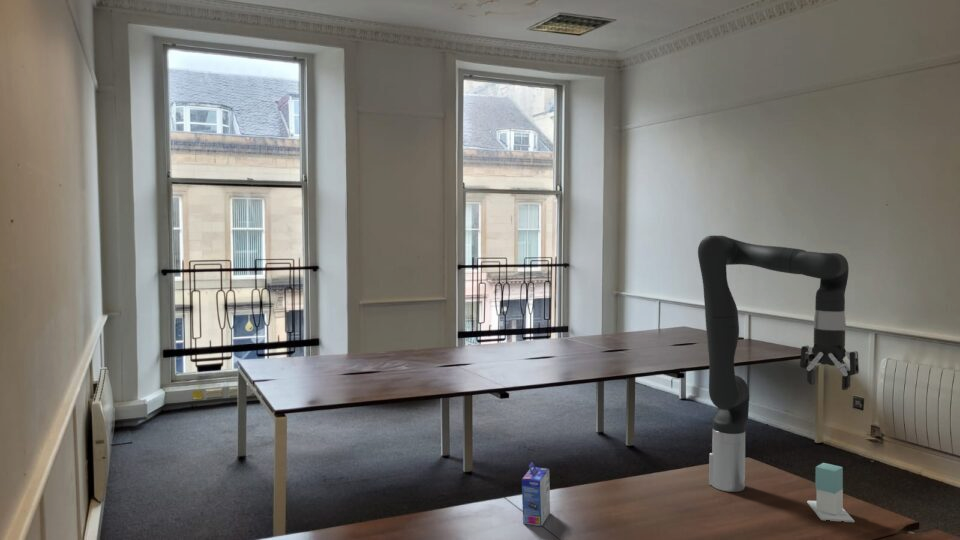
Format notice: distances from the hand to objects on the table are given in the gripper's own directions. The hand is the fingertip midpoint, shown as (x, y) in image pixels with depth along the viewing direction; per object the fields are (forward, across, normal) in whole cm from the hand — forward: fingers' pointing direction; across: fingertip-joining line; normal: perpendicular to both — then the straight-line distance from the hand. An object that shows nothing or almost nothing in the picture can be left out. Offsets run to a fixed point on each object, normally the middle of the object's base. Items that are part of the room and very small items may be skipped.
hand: (828, 387), depth 183 cm
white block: (+34, +1, 0) cm, 34 cm away
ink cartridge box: (+34, -48, -63) cm, 86 cm away
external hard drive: (+35, +1, +1) cm, 35 cm away
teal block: (+28, +1, -1) cm, 28 cm away
